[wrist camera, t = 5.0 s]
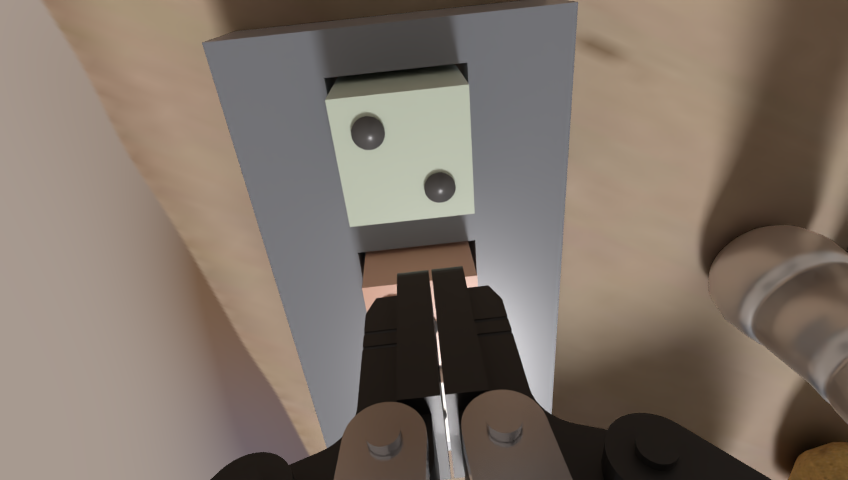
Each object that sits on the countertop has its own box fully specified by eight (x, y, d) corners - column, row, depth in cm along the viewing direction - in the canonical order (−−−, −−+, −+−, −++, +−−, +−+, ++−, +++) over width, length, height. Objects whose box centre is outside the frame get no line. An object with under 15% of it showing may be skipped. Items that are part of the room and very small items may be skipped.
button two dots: (338, 75, 20) (324, 101, 16) (454, 62, 20) (469, 85, 16) (357, 183, 22) (349, 228, 18) (460, 172, 22) (475, 214, 18)
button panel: (234, 31, 21) (201, 42, 17) (547, -3, 21) (577, 2, 17) (338, 412, 33) (331, 463, 30) (533, 390, 33) (549, 439, 30)
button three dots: (367, 236, 24) (361, 289, 20) (463, 226, 24) (477, 277, 20) (380, 313, 26) (378, 373, 22) (468, 303, 26) (481, 362, 22)
